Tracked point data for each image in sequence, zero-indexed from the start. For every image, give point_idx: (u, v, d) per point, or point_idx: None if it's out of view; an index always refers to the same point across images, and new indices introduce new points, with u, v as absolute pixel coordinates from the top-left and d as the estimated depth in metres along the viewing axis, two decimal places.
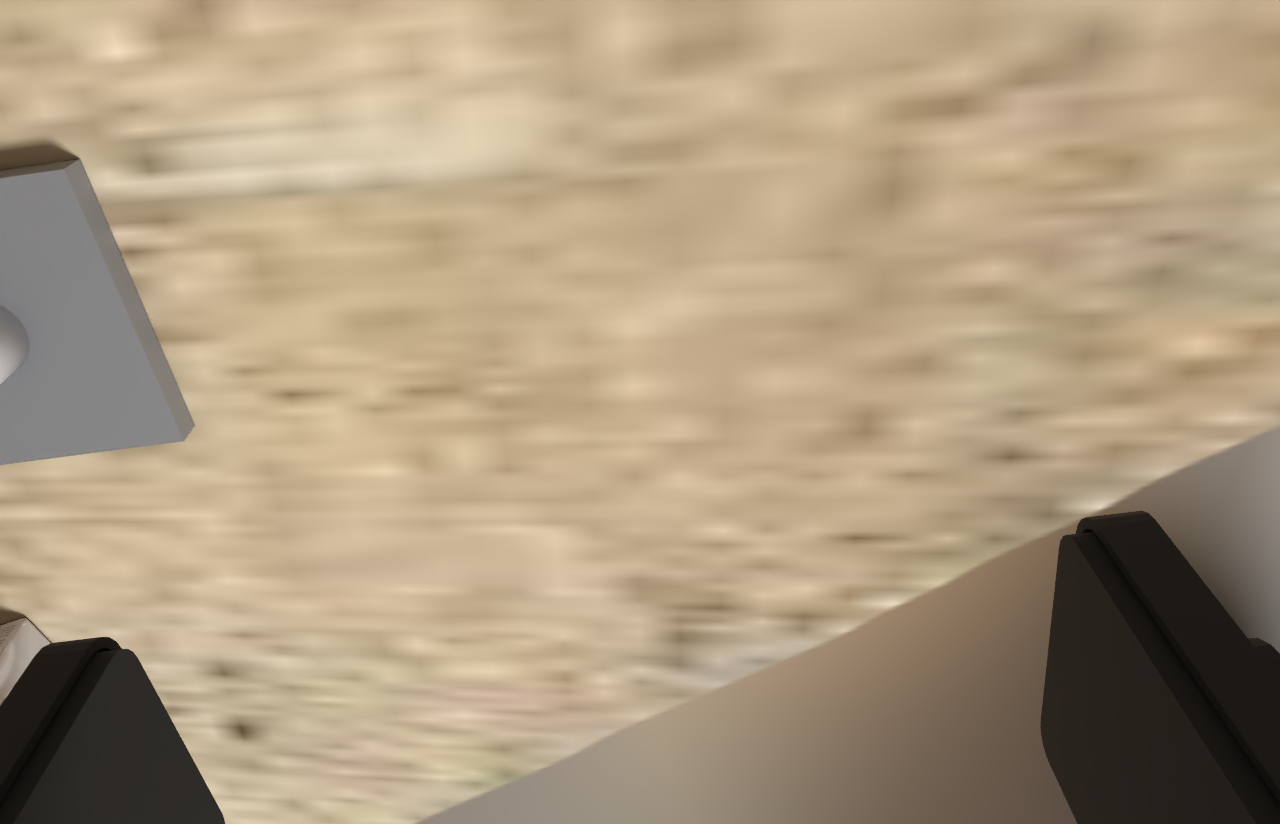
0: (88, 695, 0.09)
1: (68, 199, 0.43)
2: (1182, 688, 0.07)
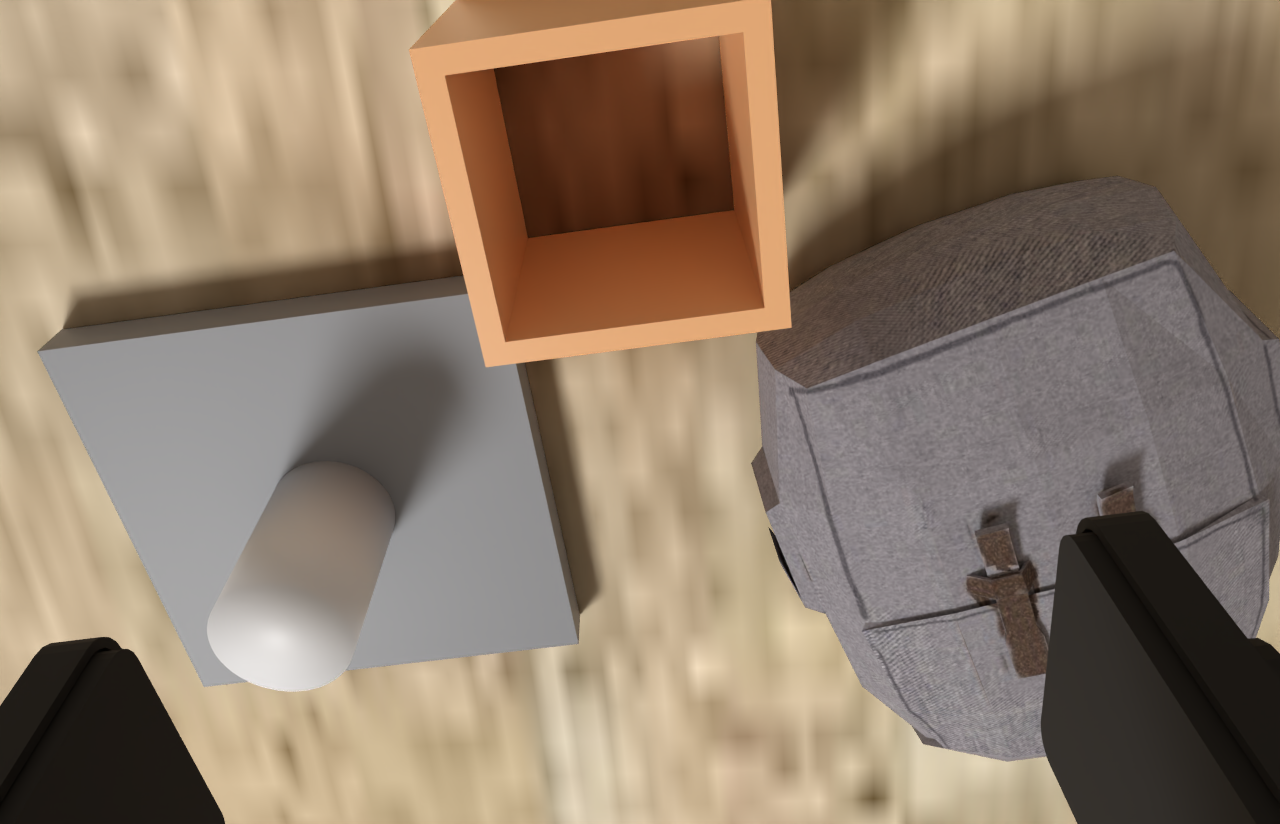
0: (88, 695, 0.09)
1: (541, 640, 0.36)
2: (1182, 688, 0.07)
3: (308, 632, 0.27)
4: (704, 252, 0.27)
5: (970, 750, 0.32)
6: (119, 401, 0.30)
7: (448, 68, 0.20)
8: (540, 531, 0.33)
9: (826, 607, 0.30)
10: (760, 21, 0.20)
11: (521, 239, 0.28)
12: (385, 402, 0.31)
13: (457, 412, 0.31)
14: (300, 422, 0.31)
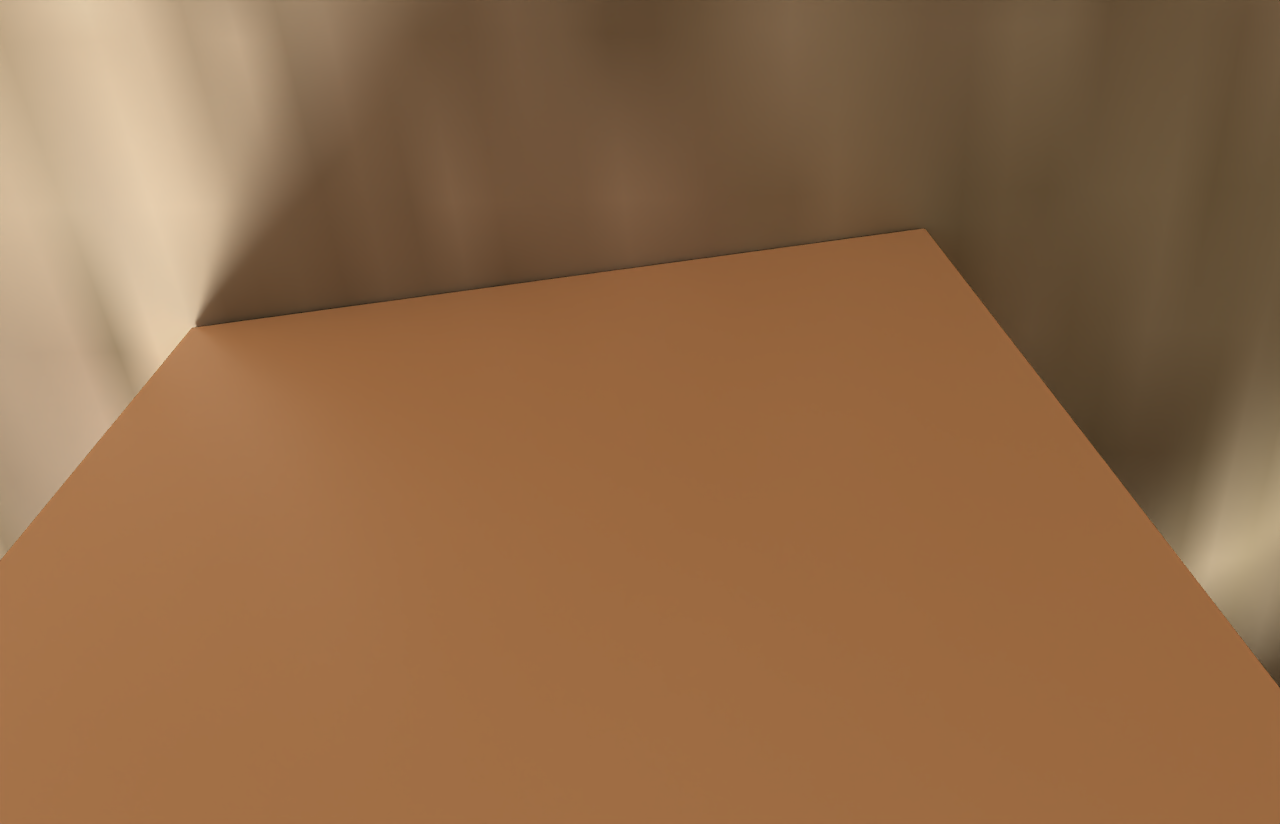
0: None
1: None
2: None
3: None
4: None
5: None
6: None
7: None
8: None
9: None
10: None
11: None
12: None
13: None
14: None
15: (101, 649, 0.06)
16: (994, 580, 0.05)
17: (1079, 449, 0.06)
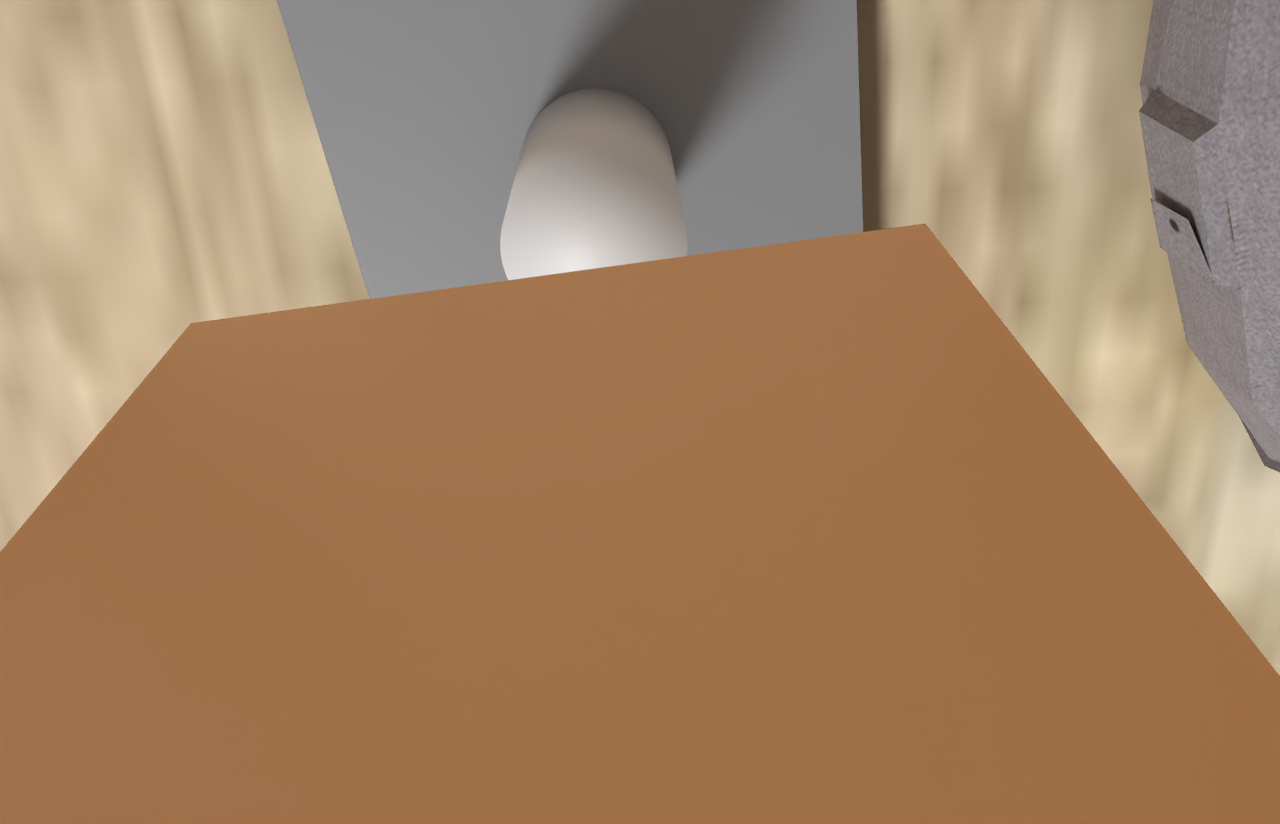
0: None
1: None
2: None
3: (631, 237, 0.21)
4: None
5: None
6: None
7: None
8: (846, 194, 0.27)
9: (1246, 278, 0.24)
10: None
11: None
12: None
13: (770, 12, 0.25)
14: (571, 28, 0.25)
15: (99, 643, 0.06)
16: (995, 576, 0.05)
17: (1080, 443, 0.06)
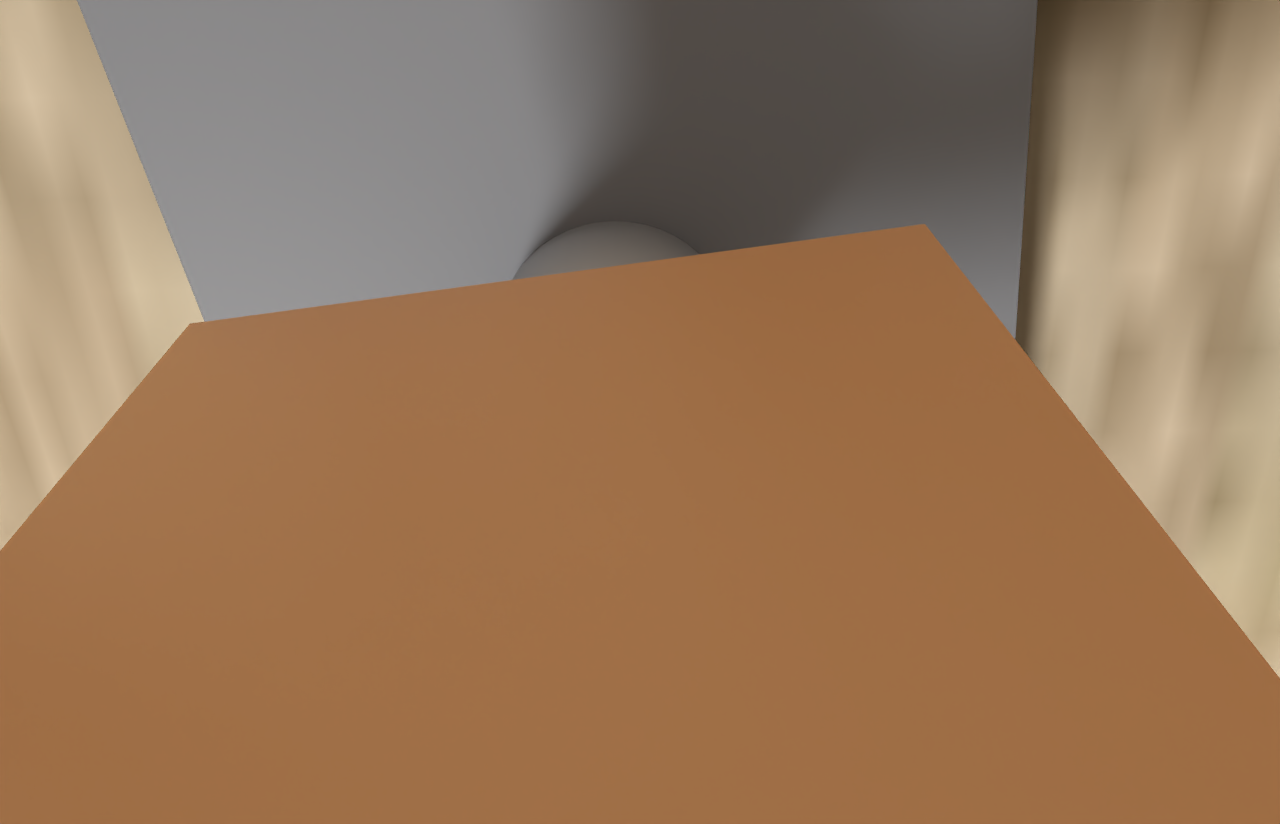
0: None
1: None
2: None
3: None
4: None
5: None
6: (223, 81, 0.15)
7: None
8: None
9: None
10: None
11: None
12: (756, 87, 0.15)
13: (893, 111, 0.16)
14: (580, 133, 0.16)
15: (97, 644, 0.06)
16: (994, 576, 0.05)
17: (1080, 443, 0.06)
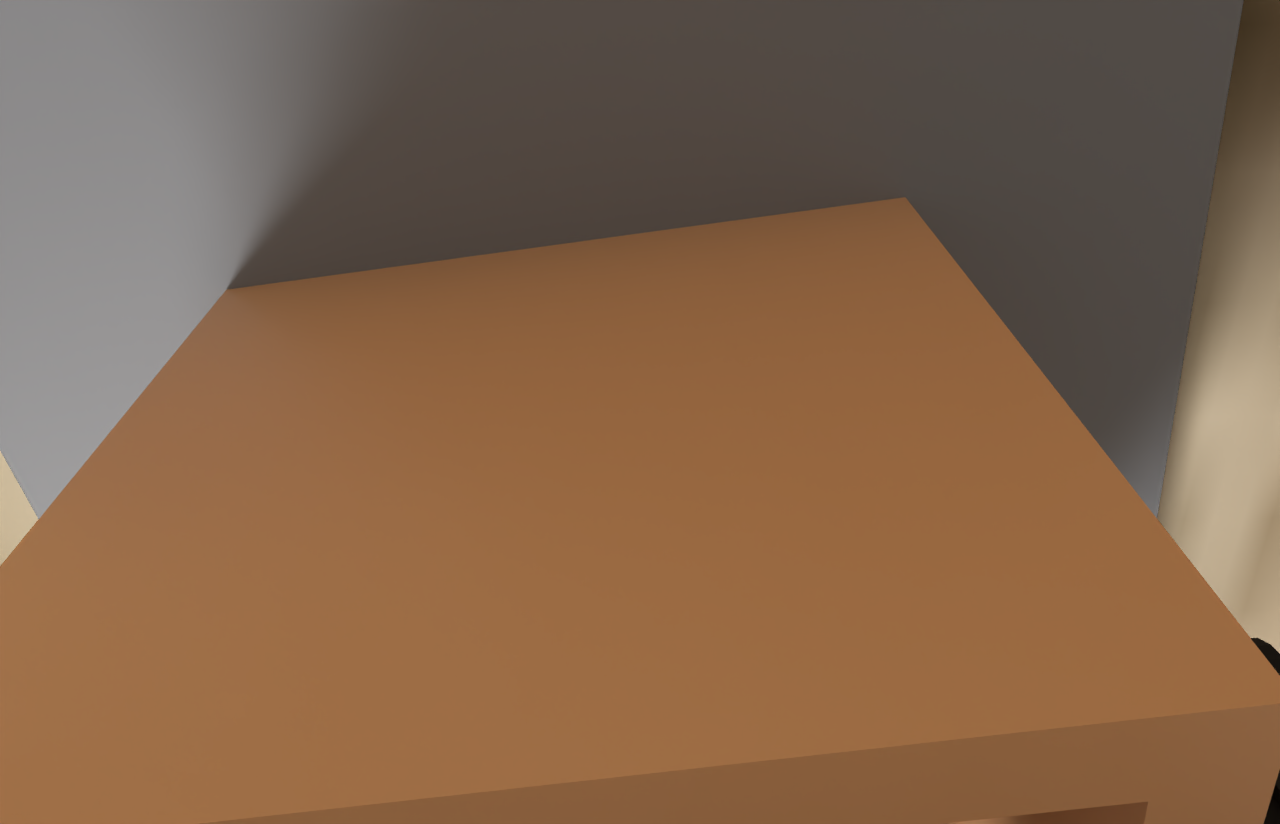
0: None
1: None
2: None
3: None
4: None
5: None
6: (27, 194, 0.10)
7: None
8: None
9: None
10: (1230, 771, 0.05)
11: None
12: (810, 200, 0.10)
13: (1008, 231, 0.11)
14: None
15: (167, 550, 0.07)
16: (951, 483, 0.06)
17: (1033, 379, 0.07)
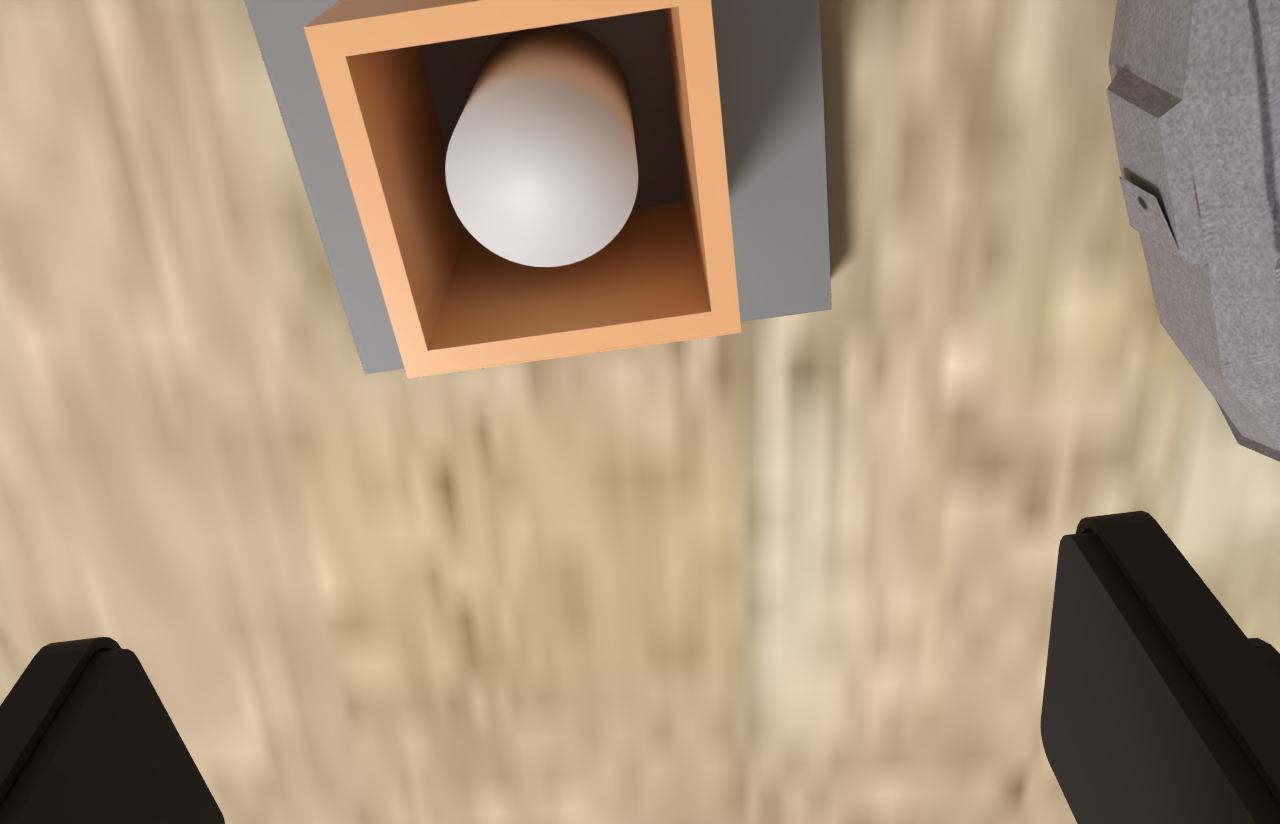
0: (88, 695, 0.09)
1: (786, 303, 0.29)
2: (1182, 689, 0.07)
3: (580, 165, 0.21)
4: (652, 248, 0.25)
5: None
6: None
7: (349, 48, 0.18)
8: (808, 136, 0.26)
9: (1213, 254, 0.24)
10: None
11: (455, 235, 0.26)
12: None
13: None
14: None
15: None
16: None
17: None
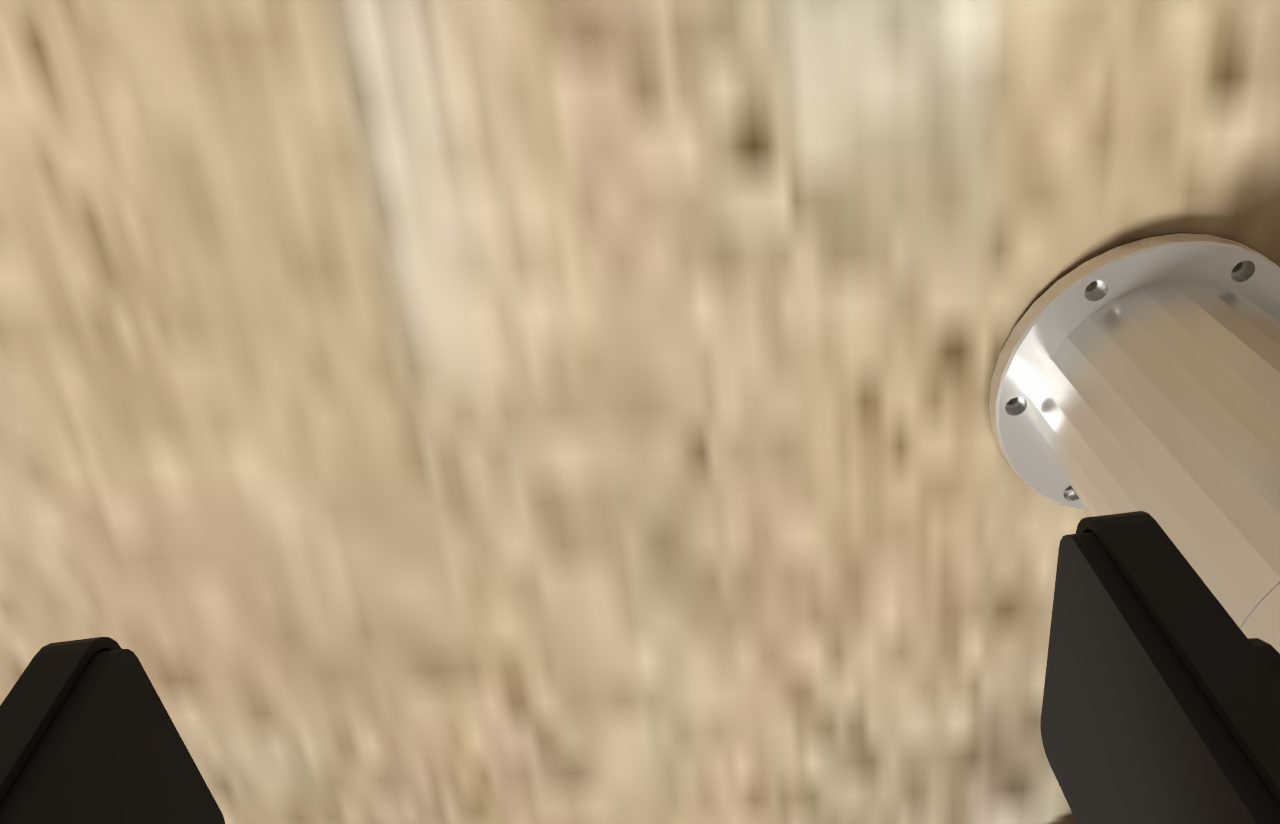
0: (87, 695, 0.09)
1: None
2: (1182, 688, 0.07)
3: None
4: None
5: None
6: None
7: None
8: None
9: None
10: None
11: None
12: None
13: None
14: None
15: None
16: None
17: None
